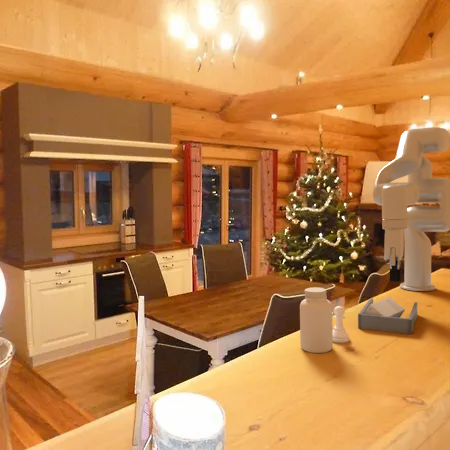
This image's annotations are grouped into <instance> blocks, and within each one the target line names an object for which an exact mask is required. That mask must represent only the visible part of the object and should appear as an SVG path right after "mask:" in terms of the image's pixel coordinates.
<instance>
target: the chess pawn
mask: <svg viewBox="0 0 450 450" xmlns="http://www.w3.org/2000/svg"><path fill="white" fill-rule="evenodd" d="M333 314H334V316H333V319H335V320H336V321H335V325H334V327H333V329H332V335H333V342H334V343H338V344H339V343H340V344H342V343H348V342H349V341H350V333H349V332H348V331H347V330H346V327H345V326H344V323H343V320H346V317H345V314H346V310H345V308H344V307H343V306H340V305H338V306H335V307H334V308H333Z"/></svg>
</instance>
